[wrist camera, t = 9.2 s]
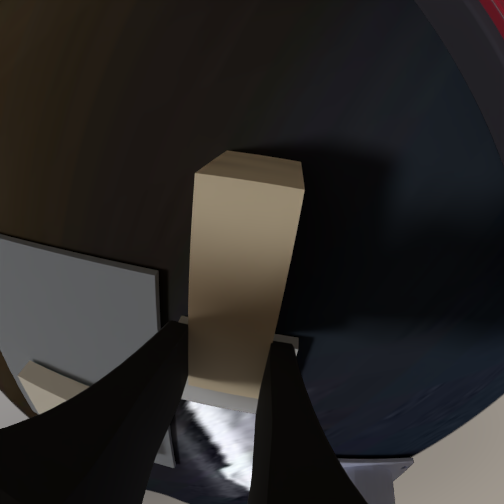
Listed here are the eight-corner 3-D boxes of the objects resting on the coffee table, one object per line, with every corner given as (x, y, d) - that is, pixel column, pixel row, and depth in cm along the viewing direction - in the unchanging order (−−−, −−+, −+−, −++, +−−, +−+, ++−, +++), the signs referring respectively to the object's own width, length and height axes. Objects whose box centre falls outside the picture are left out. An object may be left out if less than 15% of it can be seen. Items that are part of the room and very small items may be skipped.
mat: (175, 464, 20) (174, 468, 20) (35, 408, 21) (33, 411, 21) (158, 270, 12) (154, 275, 12) (-36, 224, 13) (-40, 227, 13)
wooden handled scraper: (277, 405, 15) (271, 463, 12) (183, 387, 15) (163, 441, 12) (340, 169, 10) (362, 201, 7) (189, 146, 10) (142, 166, 7)
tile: (133, 399, 16) (146, 450, 19) (31, 358, 16) (59, 415, 20) (121, 422, 14) (139, 469, 18) (17, 375, 15) (49, 431, 18)
